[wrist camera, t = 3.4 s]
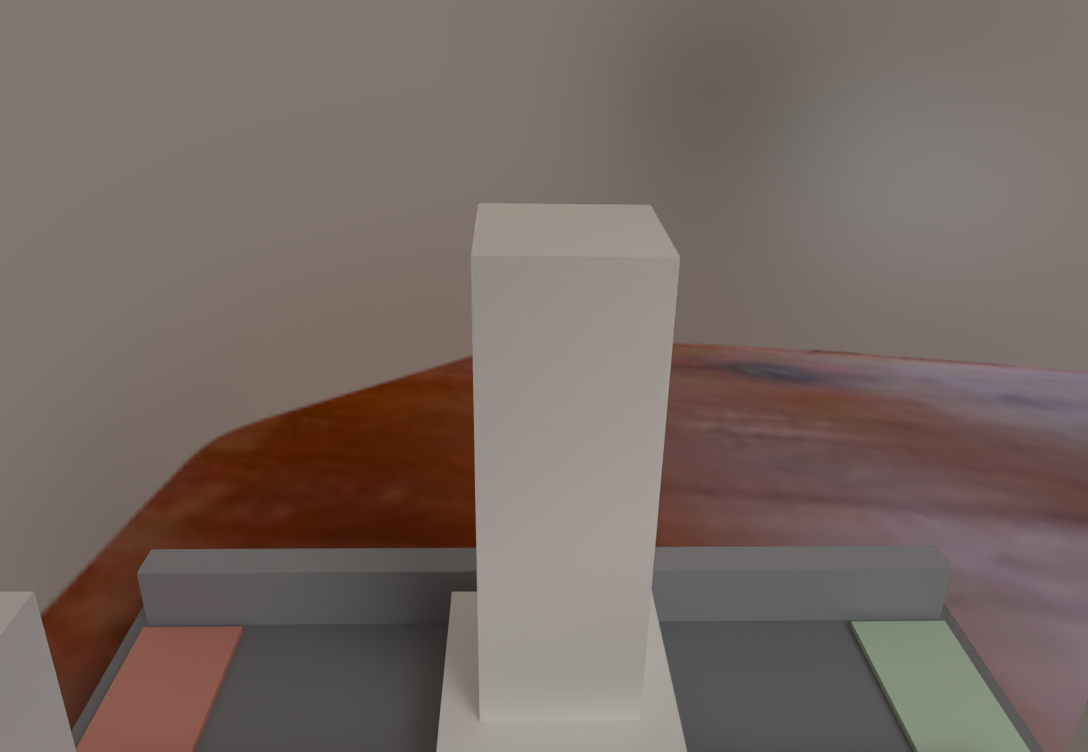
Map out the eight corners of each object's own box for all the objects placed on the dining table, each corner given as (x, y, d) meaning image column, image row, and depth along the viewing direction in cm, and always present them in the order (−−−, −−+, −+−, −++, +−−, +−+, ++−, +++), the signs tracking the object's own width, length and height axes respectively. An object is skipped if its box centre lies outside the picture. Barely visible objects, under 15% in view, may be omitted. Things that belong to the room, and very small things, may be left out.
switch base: (925, 639, 30) (949, 543, 29) (1099, 927, 21) (1151, 812, 20) (158, 646, 29) (136, 547, 28) (0, 950, 20) (-47, 831, 19)
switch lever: (648, 626, 27) (685, 194, 21) (682, 793, 22) (744, 274, 16) (452, 628, 27) (438, 192, 21) (437, 796, 22) (413, 272, 16)
